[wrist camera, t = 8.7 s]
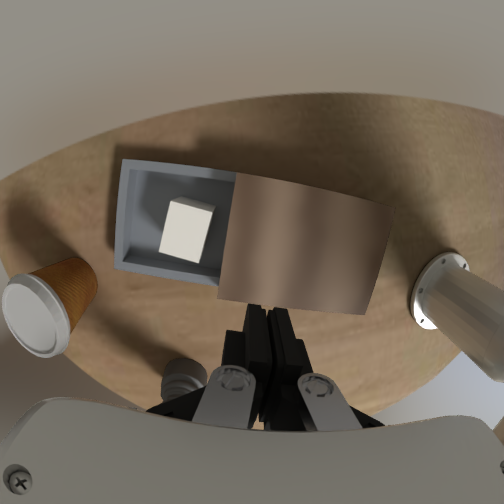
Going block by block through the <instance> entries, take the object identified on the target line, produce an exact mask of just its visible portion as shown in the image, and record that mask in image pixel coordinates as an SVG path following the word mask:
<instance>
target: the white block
mask: <svg viewBox="0 0 504 504" xmlns="http://www.w3.org/2000/svg"><path fill="white" fill-rule="evenodd" d="M215 209H216V206H215V205H211V204H208V203H204V202H201V201H197V200H193V199H190V198H186V197H182V196H180V197H178V198H176V199H174V200H171V201H170V205H169V209H168V213H167V218H166V222H165V226H164V230H163V235H162V239H161V244H160V249H159V252H161V253H165V254H168V255H172V256H175V257H178V258H182V259H185V260H189V261H192V262H196V263H199V261H200V258H201V256H202V253H203V251H204V248H205V244H206V241H207V237H208V233H209V230H210V226H211V223H212V219H213V216H214V212H215Z"/></svg>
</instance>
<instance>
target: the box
mask: <svg viewBox="0 0 504 504" xmlns="http://www.w3.org/2000/svg"><path fill="white" fill-rule="evenodd" d="M236 175H237V172H231V171H225V170H218V169H211V168H204V167H197V166H189V165H181V164H172V163H163V162H153V161H142V160H130V159H123V160H122V167H121V174H120V182H119V192H118V202H117V214H116V230H115V257H114V269H119V270H124V271H130V272H135V273H140V274H146V275H152V276H157V277H163V278H169V279H175V280H181V281H187V282H193V283H199V284H206V285H212V286H219V281H220V274H221V267H222V261H223V254H224V248H225V241H226V235H227V229H228V222H229V216H230V210H231V204H232V198H233V192H234V186H235V181H236ZM180 196H182V197H186V198H190V199H193V200H197V201H201V202H204V203H208V204H211V205H215V206H216V209H215V212H214V216H213V219H212V223H211V226H210V230H209V233H208V237H207V241H206V244H205V248H204V251H203V253H202V256H201V258H200V261H199V263H196V262H192V261H189V260H185V259H182V258H178V257H175V256H172V255H168V254H165V253H161V252H159V249H160V244H161V239H162V235H163V230H164V226H165V222H166V218H167V213H168V209H169V205H170V201H171V200H174V199H176V198H178V197H180Z"/></svg>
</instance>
